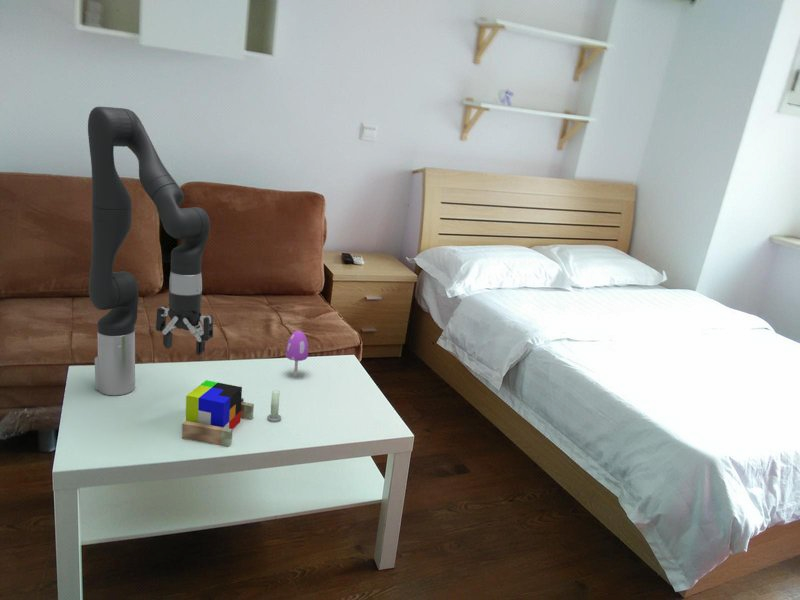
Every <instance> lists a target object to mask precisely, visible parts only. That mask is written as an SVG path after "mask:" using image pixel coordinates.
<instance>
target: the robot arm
mask: <svg viewBox="0 0 800 600" xmlns="http://www.w3.org/2000/svg"><path fill="white" fill-rule="evenodd" d="M144 126H145V125H143V123H142V120H140V118H139V116H138V115H137V114H136V113H135V112H134V111H133V110H131V109H128V108H125V107H113V106H111V107H109V106H95V107H93V109H91V111H90V113H89V115H88V120H87V136H88V145H89V155H90V165H91V228H92V229H91V230H92V233H91V234H92V235H91V236H92V237H91V240H92V241H91V258H90V259H91V260H90V266H89V268H90V269H89V280H88V293H89V294H88V295H89V298H90V302H91V303H92V305H93V307H94V308H96V309H97V310H100V311H106V310H109V311H108V312H107V313H106V314H105V315H104V316H102V317H101V318H99V320H97V324H96V327H97V328H96V330H97V356H95V358H94V381H95V383H94V384H95V391H98V392H100V393H101V394H103V395H106V396H122V395H127V394H129V393H132V392H133V391H134V390H135V388H136V336H135V335H136V334H135V333H136V330H135V329H136V324H137V321H138V311H139V309H138V308H139V307H138V306H139V286H138V282H137V280H136V278H135V275H133V274H132V273H131V272H129V271H125V270H124V271H123V270H121V271H115V272H113V271H114V264H115V259H116V256H117V254H118V253H119V250H120V249H121V247H122V245H123V243H124V241H125V240H126V239H127V237H128V234H129V232H130V230H131V227H132V215H133V214H132V212H133V211H132V210H133V209H132V208H133V203H132V202H133V201H132V198H131V196H130V193H129V191H128V189H127V187H126V186H125V184H124V183H123V181H122V179H121V177H120V175H119V174H118V171H117V168H116V165H115V157H114V155H115V154H114V148H115V147H126V148H128V149H129V150H130V151H131V152H132V153H133V154H134V156H135V157H136V159H137V161H138V178H139V181H140V184H141V186H142V189H143V190H144V191H145V192H146V194H147V195H148V197H149V198H150V200H151V201H152V203H153V204H154V205H155V207H156V210H157V212H158V216H159V218H160V221H161V224H162V227H163V229H164V230H165V231H164V232H166V234H168V235H169V236H170V237H172V238H174V239H177V240H183V242H182V243H181V244H180V245H177V246H175V247H173V249H172V250H171V253H170V274H169V284H168V285H169V287H168V288H169V289H168V307H169V308H168V307H167V306H166V305H163V306H161V307H158V308H157V309H156V318H155V319H156V322H155V330H156V331H157V332H159V331H160V333H162V334H163V339H162V340H163V342H162V345H163V346H164V348H165V349H167V350H169V349H171V347H172V346H173V332H172V331H173V330H174V329H175V328H176V329H181V330H185V331H190V333H191V335H193V336H194V338H195V339H196V340H197V341H196V344H195V345H196V346H195V355H196V356H200V355H202V354H203V353H204V352H205V350H206V342H207V341H209V340H210V339H213V337H214V318H213V317H214V316H213V315H211V314H209V315H202V313H201V309H202V294H203V293H202V291H203V279H202V278H203V277H202V262H203V261H202V260H203V259H202V257H203V253H204V251H205V248H206V244H207V240H208V237H209V235H210V229H211V221H210V217H209V215H208V213H207V212H206V211H205V209H203V208H202V207H197V206H194V207H181V208H180V206H181V205H182V203H183V201H184V198H185V195H184V192H183V190H182V189H181V187H180V186H179V185H178V183H177V182H176V180H175V179H174V178H173V177H172V174H170V173H169V171H168V170H167V168H166V167H165V165H164V163H163V162H162V160H161V158H160V156H159V154H158V152H157V150H156V148H155V147H154V145H153V142H152V140H151V138H150V136H149V135H148V133H147V131H146V128H145V127H144ZM167 317H169V319H170V321H169V322H168V324H167ZM200 322H201V323H200Z"/></svg>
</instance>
